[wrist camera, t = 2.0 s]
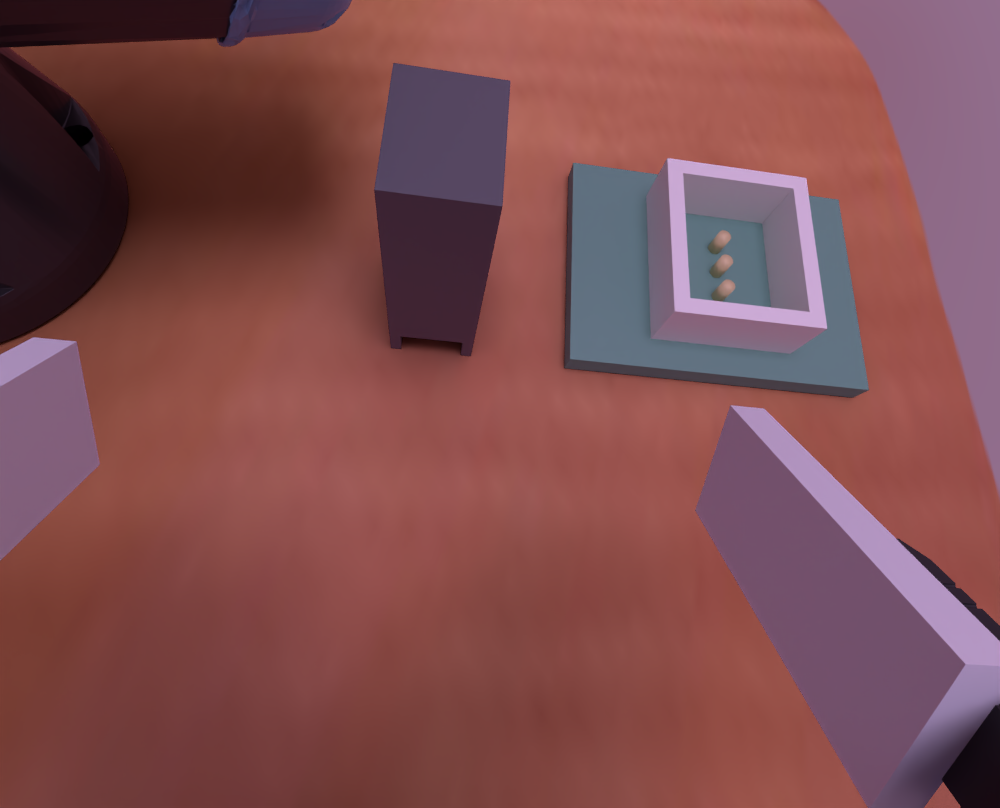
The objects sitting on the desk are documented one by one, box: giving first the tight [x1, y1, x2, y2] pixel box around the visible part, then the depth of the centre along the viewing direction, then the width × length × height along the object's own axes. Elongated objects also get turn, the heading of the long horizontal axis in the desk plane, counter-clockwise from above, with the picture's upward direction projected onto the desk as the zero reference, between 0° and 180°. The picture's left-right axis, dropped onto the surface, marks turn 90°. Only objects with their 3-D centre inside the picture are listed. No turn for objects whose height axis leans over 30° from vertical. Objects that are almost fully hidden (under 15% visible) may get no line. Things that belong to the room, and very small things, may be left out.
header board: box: [564, 158, 869, 398], centre depth 31 cm, size 16×12×4 cm
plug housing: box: [374, 63, 510, 356], centre depth 25 cm, size 4×5×12 cm
